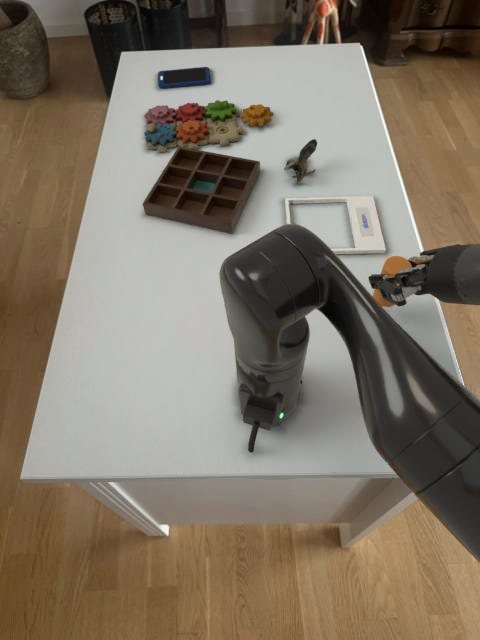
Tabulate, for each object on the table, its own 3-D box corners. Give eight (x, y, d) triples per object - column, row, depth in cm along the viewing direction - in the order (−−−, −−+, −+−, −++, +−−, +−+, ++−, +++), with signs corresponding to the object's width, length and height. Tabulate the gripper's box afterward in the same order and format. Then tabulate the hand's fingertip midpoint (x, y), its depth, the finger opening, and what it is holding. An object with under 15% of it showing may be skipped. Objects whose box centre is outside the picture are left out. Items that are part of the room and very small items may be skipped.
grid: (232, 233, 88) (231, 223, 85) (145, 214, 91) (142, 203, 89) (260, 172, 97) (260, 161, 95) (180, 157, 101) (178, 146, 98)
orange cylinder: (395, 309, 71) (410, 279, 64) (370, 303, 72) (382, 273, 65) (399, 290, 73) (413, 259, 66) (374, 284, 74) (386, 253, 67)
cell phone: (158, 73, 120) (157, 71, 119) (209, 69, 120) (209, 66, 120) (158, 88, 116) (158, 85, 116) (211, 83, 116) (210, 81, 116)
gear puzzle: (269, 102, 111) (269, 86, 108) (278, 141, 103) (279, 125, 99) (145, 113, 111) (142, 98, 107) (145, 154, 102) (141, 139, 98)
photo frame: (385, 249, 82) (289, 251, 83) (384, 253, 83) (289, 255, 84) (373, 195, 90) (285, 197, 91) (372, 199, 91) (284, 201, 92)
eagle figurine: (324, 181, 93) (324, 148, 96) (308, 161, 88) (309, 126, 91) (292, 193, 97) (294, 161, 101) (275, 174, 92) (277, 141, 95)
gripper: (449, 330, 53) (358, 317, 69) (522, 273, 57) (420, 273, 73) (429, 276, 51) (339, 275, 67) (506, 220, 55) (405, 232, 71)
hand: (382, 274), depth 70 cm, fingers closed on orange cylinder, 4 cm apart
